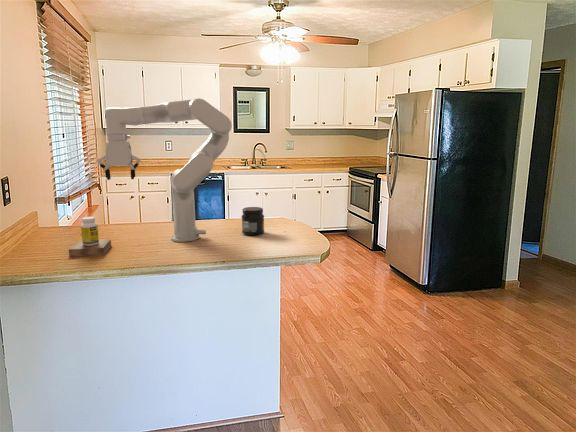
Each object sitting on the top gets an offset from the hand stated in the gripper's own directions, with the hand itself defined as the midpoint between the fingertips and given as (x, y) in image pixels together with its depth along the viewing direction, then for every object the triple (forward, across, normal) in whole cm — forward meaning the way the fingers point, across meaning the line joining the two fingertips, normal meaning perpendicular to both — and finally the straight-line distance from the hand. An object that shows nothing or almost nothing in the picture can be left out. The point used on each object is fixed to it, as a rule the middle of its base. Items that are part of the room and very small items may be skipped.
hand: (120, 179), depth 191 cm
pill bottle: (+25, +12, +10) cm, 30 cm away
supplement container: (+29, -56, -8) cm, 63 cm away
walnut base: (+28, +12, +10) cm, 32 cm away
